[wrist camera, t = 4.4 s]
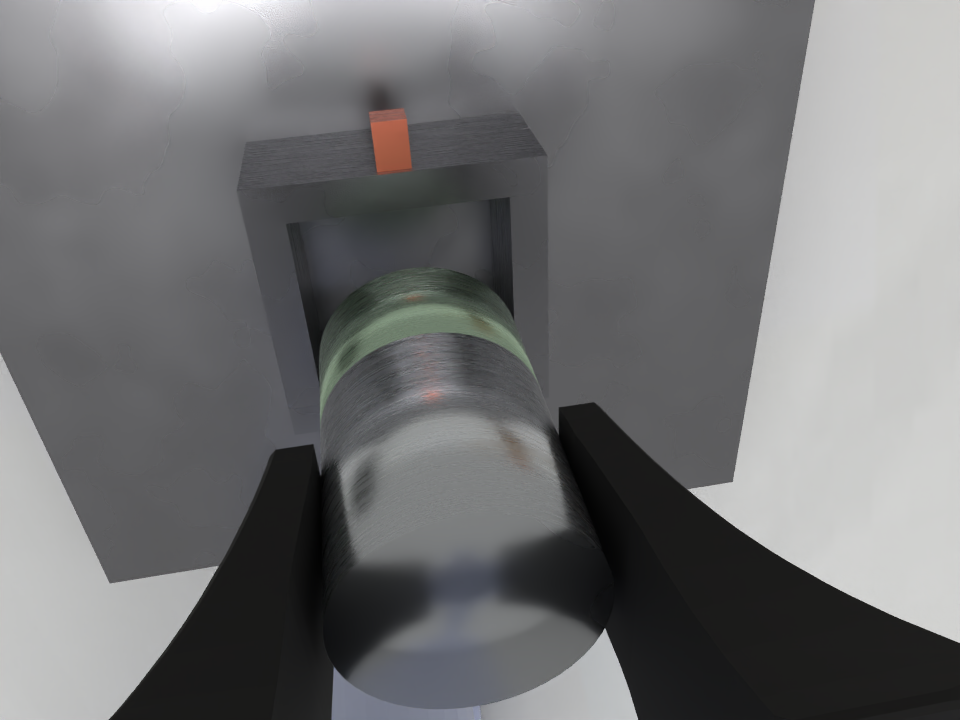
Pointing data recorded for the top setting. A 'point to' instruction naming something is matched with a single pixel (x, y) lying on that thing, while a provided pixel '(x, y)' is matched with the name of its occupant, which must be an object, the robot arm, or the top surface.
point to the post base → (373, 222)
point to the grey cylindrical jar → (447, 502)
